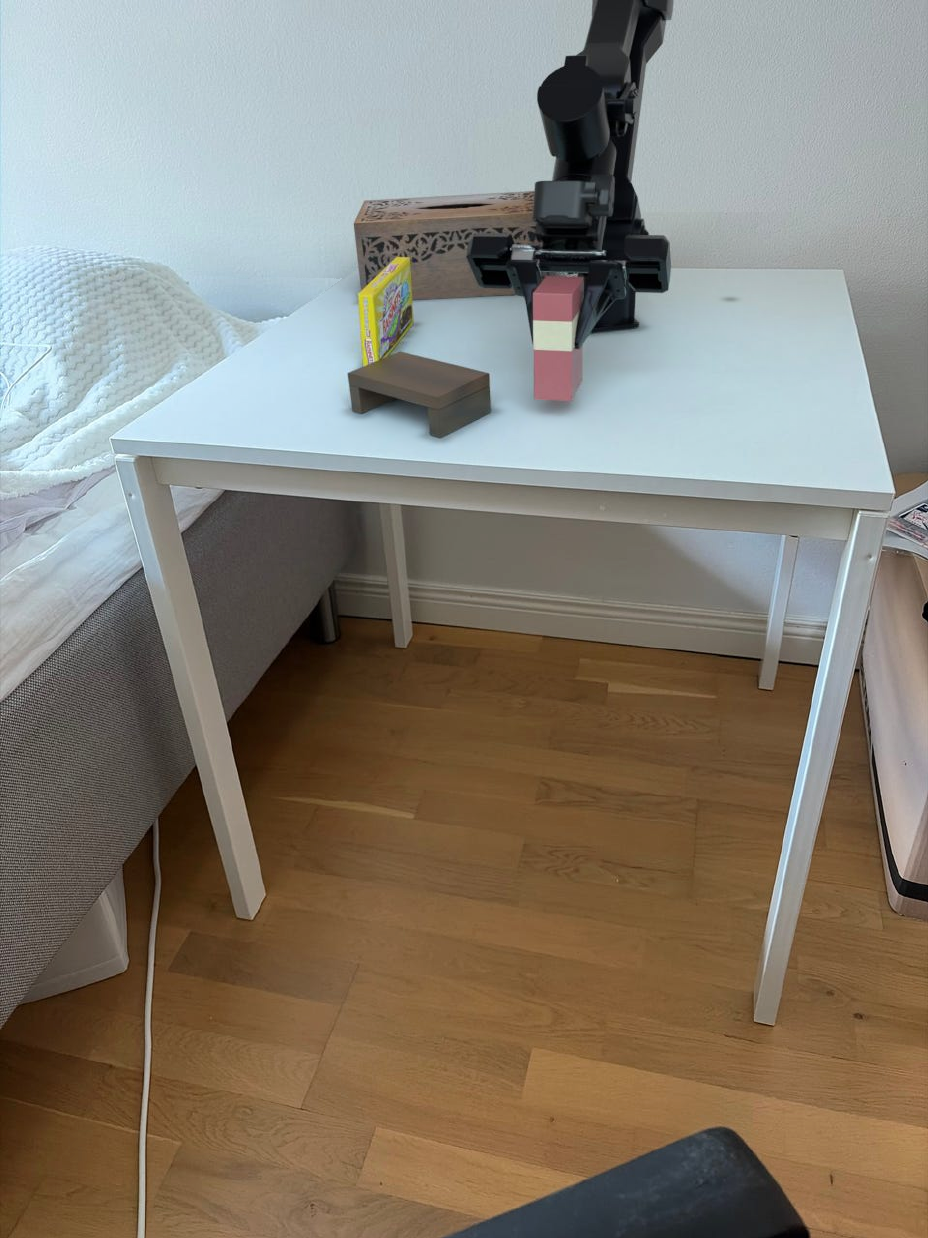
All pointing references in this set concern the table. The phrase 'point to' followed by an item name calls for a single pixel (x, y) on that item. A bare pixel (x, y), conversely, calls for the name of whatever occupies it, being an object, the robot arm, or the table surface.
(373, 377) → the shelf
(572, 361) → the packet
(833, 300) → the table surface
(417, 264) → the tissue box cover
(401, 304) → the candy box
